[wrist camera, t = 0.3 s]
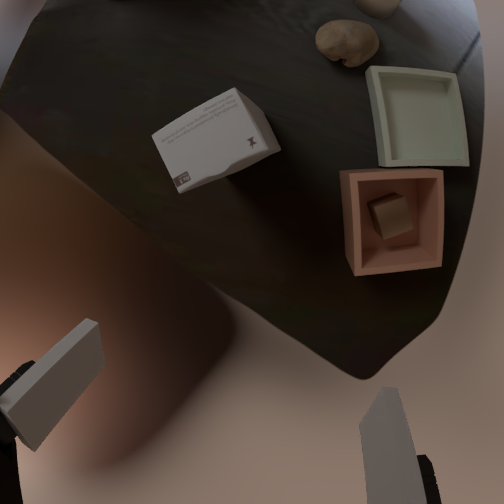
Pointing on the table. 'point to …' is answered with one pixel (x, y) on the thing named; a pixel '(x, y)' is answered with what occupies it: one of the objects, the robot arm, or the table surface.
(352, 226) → the pink open box
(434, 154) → the green dish
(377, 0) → the beige rounded capsule
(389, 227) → the walnut block
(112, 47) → the table surface
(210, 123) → the skincare box
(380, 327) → the table surface
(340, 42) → the stone
